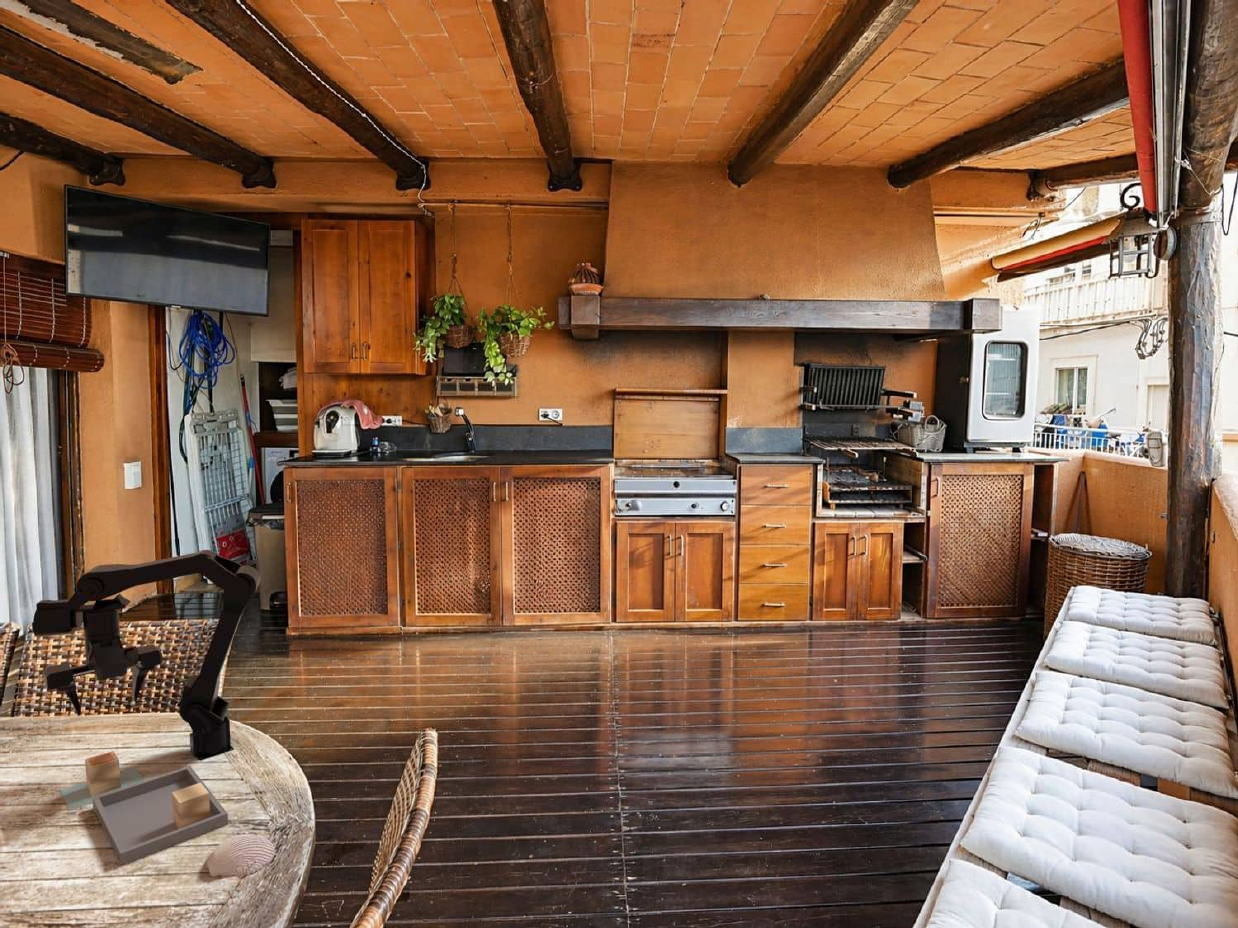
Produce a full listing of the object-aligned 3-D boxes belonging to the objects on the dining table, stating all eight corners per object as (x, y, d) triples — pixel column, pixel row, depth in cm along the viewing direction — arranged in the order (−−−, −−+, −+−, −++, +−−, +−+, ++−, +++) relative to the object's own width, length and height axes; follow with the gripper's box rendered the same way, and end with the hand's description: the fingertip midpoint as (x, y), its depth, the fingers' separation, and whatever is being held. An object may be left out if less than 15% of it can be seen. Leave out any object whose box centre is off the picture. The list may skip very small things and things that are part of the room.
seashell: (184, 855, 115) (237, 809, 124) (193, 882, 117) (245, 835, 125) (231, 871, 111) (282, 822, 120) (240, 899, 113) (290, 849, 121)
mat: (135, 768, 145) (135, 766, 145) (147, 786, 139) (147, 784, 139) (60, 792, 137) (59, 789, 137) (69, 812, 131) (68, 810, 130)
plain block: (202, 811, 131) (200, 782, 130) (210, 822, 127) (208, 792, 127) (173, 822, 127) (171, 792, 127) (181, 833, 124) (179, 803, 124)
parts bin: (190, 777, 142) (190, 765, 142) (228, 826, 127) (227, 813, 127) (93, 810, 131) (92, 797, 131) (121, 868, 116) (120, 853, 116)
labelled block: (115, 777, 141) (113, 749, 140) (120, 787, 138) (118, 758, 137) (87, 786, 138) (84, 758, 137) (91, 796, 135) (89, 767, 134)
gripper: (48, 654, 131) (55, 737, 133) (167, 630, 144) (172, 705, 146) (39, 638, 139) (45, 717, 141) (153, 616, 152) (157, 688, 154)
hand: (107, 707), depth 145 cm, fingers open, 9 cm apart
